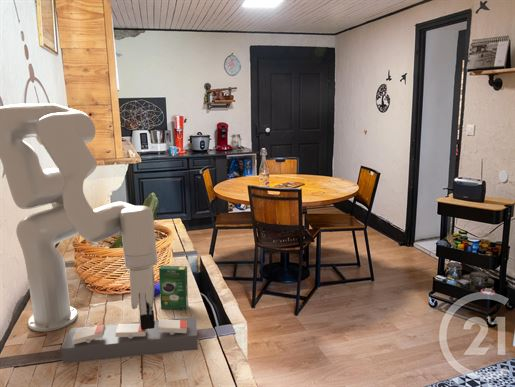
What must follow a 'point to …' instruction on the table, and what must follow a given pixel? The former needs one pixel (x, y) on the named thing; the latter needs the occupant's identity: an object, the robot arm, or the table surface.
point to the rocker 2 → (130, 330)
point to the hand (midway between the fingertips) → (148, 326)
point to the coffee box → (173, 287)
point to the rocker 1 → (89, 334)
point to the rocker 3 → (172, 326)
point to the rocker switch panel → (129, 343)
